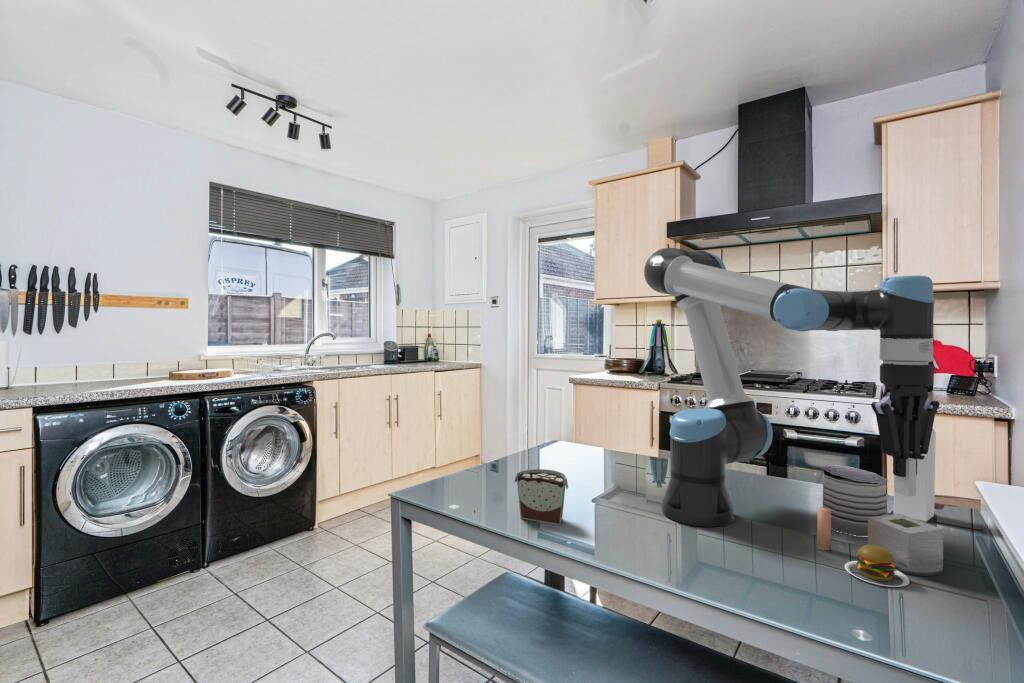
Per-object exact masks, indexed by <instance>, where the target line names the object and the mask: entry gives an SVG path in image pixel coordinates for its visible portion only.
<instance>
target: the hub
mask: <svg viewBox="0 0 1024 683" xmlns="http://www.w3.org/2000/svg"><path fill="white" fill-rule="evenodd" d="M903 527H904V526H903ZM906 528H908V527H906ZM893 563H894V565H895V568H894V569H896V570H898V571H900V572H901V573H902V572H903V574H906V573H907V575H911V574H912V575H911V576H920V577H934V576H940V575H942V574H943V572H944V562H943V563H942V564H934V565H927V566H920V567H913V568H907V567H905V566H903V565H901V564H898V563H896V562H893Z"/></svg>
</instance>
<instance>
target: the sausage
mask: <svg viewBox="0 0 1024 683" xmlns="http://www.w3.org/2000/svg"><path fill="white" fill-rule="evenodd" d="M816 517H817V525H816V527H817V528H816V529H817V530H816V532H817V533H816V535H817V536H816V540H817V541H816V542H817V543H816V548H817V547H818V548H820V549H823V550H830V549H831V548H832V545H831V544H832V541H831V540H832V529H831V510H830V509H827V508H823V507H818V508H817V516H816ZM818 548H817V549H818ZM820 549H819V550H820ZM823 550H822V551H823ZM830 551H831V550H830Z"/></svg>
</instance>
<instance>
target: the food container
mask: <svg viewBox="0 0 1024 683" xmlns="http://www.w3.org/2000/svg"><path fill="white" fill-rule="evenodd" d="M514 477H515V478H514V483H517V493H518V504H519V505H518V506H519V517H520V519H522V520H523V519H524V520H528V521H534V522H540V523H545V524H552V525H557V526H561V525H562V524H563V513H564V506H565V504H564V503H565V494H566V490H568V489H569V483H568V482H569V481H568V479H567V477H566V475H565V473H562V472H560V471H556V470H551V469H544V468H543V469H542V468H541V469H540V468H539V469H537V468H536V469H526V470H520V471H518V472H516V475H515V476H514Z"/></svg>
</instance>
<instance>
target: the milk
mask: <svg viewBox="0 0 1024 683" xmlns="http://www.w3.org/2000/svg"><path fill="white" fill-rule="evenodd" d="M936 432H937V431H935V429H934V427H933V428H932V433H931V439H930V444H929V449H928V453H927V454H922V456H925V457H924V459H923V460H921V459H917V475H916V496H911V497H909V496H906V495H902V494H899V493H896V492H894V491H893V514H903V515H905V516H908V517H911V518H914V519H916V520H919V521H922V522H925V523H927V522H928V521H929V520H930V519H932V518H933V517H935V499H936V498H935V492H936V491H935V490H936V489H935V487H936V482H935V481H936V440H937V439H936V434H937V433H936ZM920 447H921V446H920Z"/></svg>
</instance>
